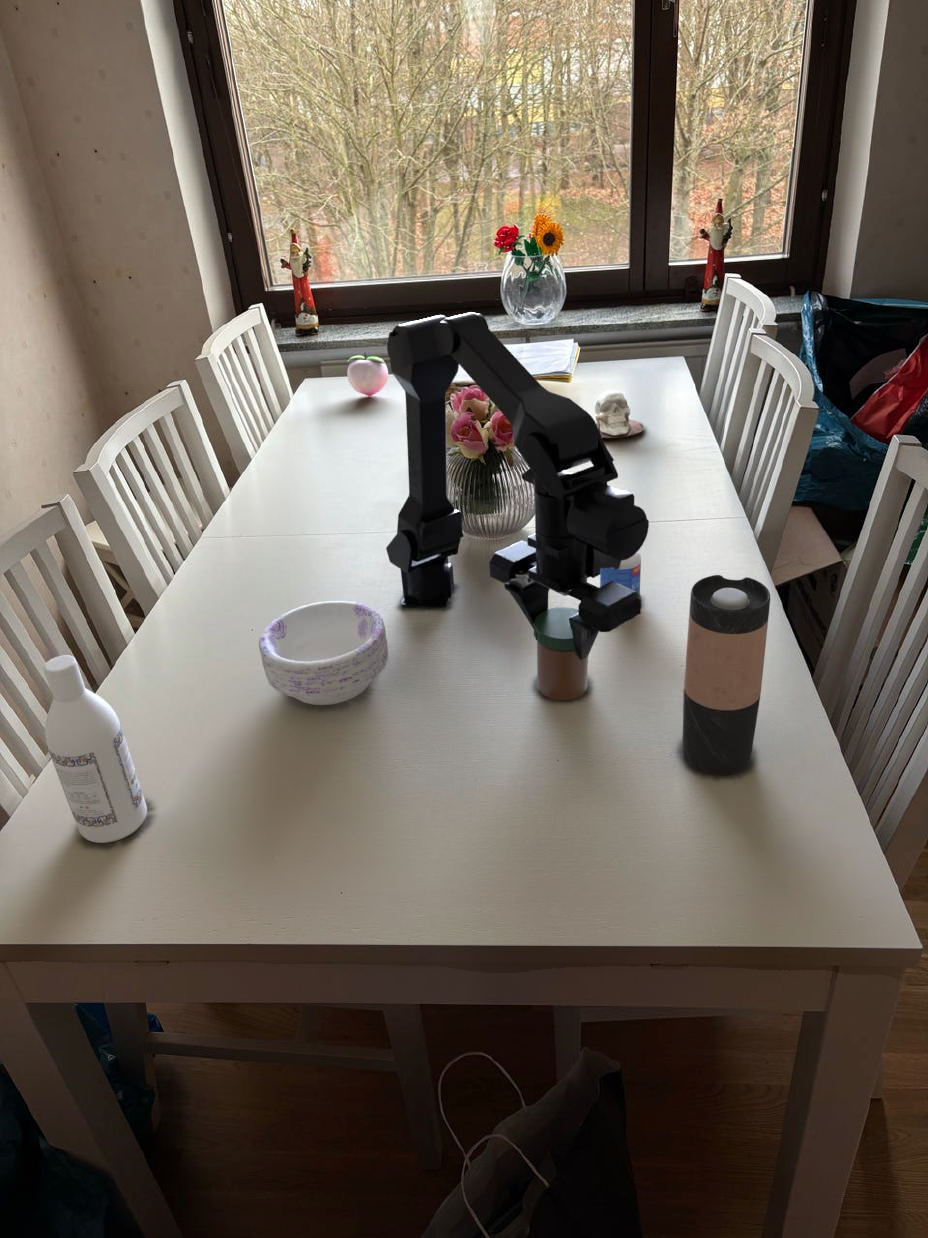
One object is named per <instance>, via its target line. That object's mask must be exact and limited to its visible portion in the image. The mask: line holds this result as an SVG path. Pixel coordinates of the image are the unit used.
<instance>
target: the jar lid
mask: <svg viewBox="0 0 928 1238" xmlns="http://www.w3.org/2000/svg"><path fill="white" fill-rule="evenodd" d="M577 613H578V609H577V608H573V607H563V606H558V607H552V608H548V610H545V611H543V612H542V613H540V614H539V615H538V616H537V617H536V618H535V622H534V629H533V637H534V638H535V641H536V642H537V641H538V642H539V643H540V644H541V645H543V646H544V647H547V648H549V649H553V650H559V651H569V650H575V649H576V647H575V643H574V639H573V635H572V631H571V627H570V623H569V618H570V617H572V616H573V615H575V614H577Z"/></svg>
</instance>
